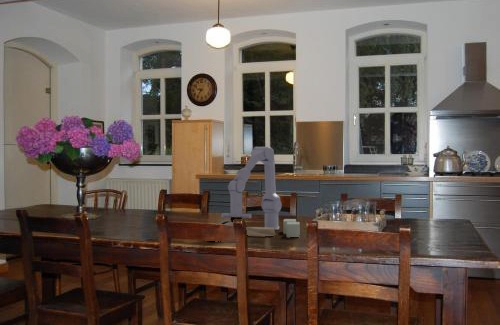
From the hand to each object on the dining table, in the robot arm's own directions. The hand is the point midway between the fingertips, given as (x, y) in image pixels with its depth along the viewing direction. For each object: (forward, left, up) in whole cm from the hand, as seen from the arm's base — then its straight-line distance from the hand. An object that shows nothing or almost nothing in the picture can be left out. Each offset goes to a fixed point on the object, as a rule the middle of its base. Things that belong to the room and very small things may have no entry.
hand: (236, 232), depth 236 cm
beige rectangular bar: (0, +12, -1) cm, 12 cm away
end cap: (0, +28, -1) cm, 28 cm away
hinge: (+14, -4, -2) cm, 14 cm away
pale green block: (-10, +26, -1) cm, 28 cm away
